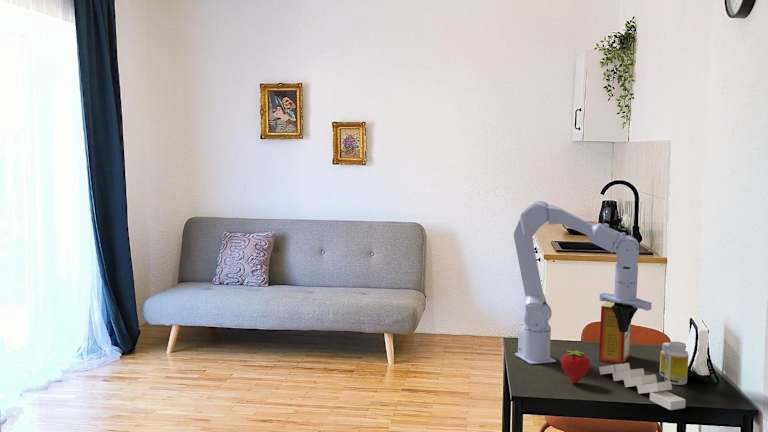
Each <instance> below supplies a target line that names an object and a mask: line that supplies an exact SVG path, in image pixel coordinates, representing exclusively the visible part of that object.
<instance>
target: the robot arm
mask: <svg viewBox="0 0 768 432" xmlns="http://www.w3.org/2000/svg"><path fill="white" fill-rule="evenodd" d="M547 222H548V224H547V225H549V226H550V225H557V224H558V225H559V224H561V225H563V226H565V227H567V228H570V229H572V230H574V231H577V232H579V233H581V234H584V235H586V236H587V238H588V239H589V242H590V243H591V244H593V245H596V246H598V247H600V248H601V249H604V250H606V251H608V252H610V253H615V254H616V264H615V270H614V271H615V274H614V291H613V294H612V293H606V292H601V293H599V302H612V303H614V305H613V306H612V310H613V312H614V314H615V316H616V319H617V323H618V327H619V332H623V333H624V332H628V328H629V325H630V322H631V323H632V319H633V318H634V316H635V314H636V313H637V311H638V310H639V309H641V310H643V311H647V312H648V311H651V310H652V308H653V307H652V304H653V303H652V302H650V301H647V300H644V299H640V298H638V297H637V294H638V275H639V265H638V264H639V258H638V257H639V255H640V243H639V242H638V240H637V239H636V238H635V237H633V236H632V235H630V234H629V235H626V234H627V233H626V232H623V231H622V232H620V231H618V230H615V229H613V228H611V227H609V226H610V224H608V223H606V222H605V223H600V222H599V223H596V224H592V223H590V222H588V221H586V220H584V219H582V218H581V217H579V216H576V215H575V214H573V213H571V212H569V211H568V210H565V209H563V208H561V207H559V206H556V205H553V204H549V203H547V202H545V201H541V200H537V201H535V202H534V203H532V204H530V205H529V206H527V207H526V208H525V209H524V210H523V212H522V213H521V214H520V216H519V220H518V222H517V224H516V226H515V229H514V232H513V240H514V244H515V250H516V255H517V260H518V265H519V269H520V275H521V282H522V284H523V285H522V286H523V291H524V296H525V302H524V306H525V314H524V323H525V324H524V325H523V326H522V327H521V328H520V329H519V330H518V331H519V332H518V340H517V341H518V343H517V352H514V355H515V356H516V357H518V358H520V359H521V360H523V361H525V362H527V363H528V364H529V365H538V364H548V363H556V362H557V360H556V359H554V358H553V357H551V339H552V337H551V336H552V334H551V333H552V327H551V325H550V324H549V321H550V320H551V319H552V316H553V315H552V309H551V307H550V305H549V304H548V303H547V300H546V299H547V298H546V295H545V294H544V291H543V286H542V282H541V281H542V280H541V275H540V270H539V266H538V261H537V256H536V251H535V245H534V240H533V237H534V235H535V234H536V233H537V232H538V230H539V229H540V228H541V227H543V226H544V225H545V224H546V223H547Z"/></svg>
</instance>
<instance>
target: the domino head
mask: <svg viewBox="0 0 768 432" xmlns="http://www.w3.org/2000/svg"><path fill="white" fill-rule="evenodd" d="M630 366H631V365H630V363H629V362H624V364H615V363H614V364H610V365H603V366H599V367H598V370H599V373H600V374H599V375H608V374H612V373H617V372H622V371H627V370H631V367H630Z"/></svg>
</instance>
